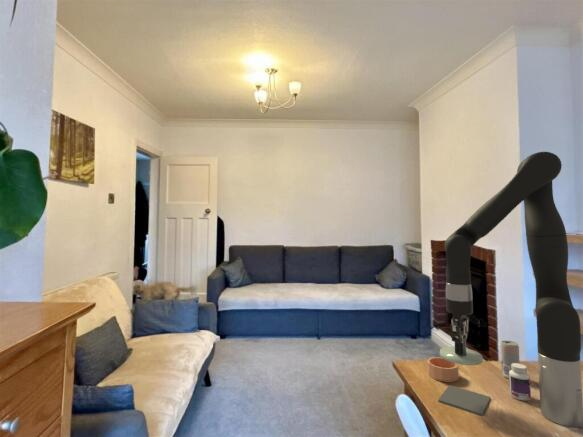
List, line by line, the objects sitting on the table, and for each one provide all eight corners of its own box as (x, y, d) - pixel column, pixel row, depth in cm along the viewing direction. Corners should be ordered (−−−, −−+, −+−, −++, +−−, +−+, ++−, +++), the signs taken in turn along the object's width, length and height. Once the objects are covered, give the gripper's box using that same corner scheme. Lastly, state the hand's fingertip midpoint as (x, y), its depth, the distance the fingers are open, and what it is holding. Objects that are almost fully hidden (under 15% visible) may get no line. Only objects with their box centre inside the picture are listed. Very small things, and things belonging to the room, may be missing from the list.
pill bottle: (534, 402, 96) (533, 369, 97) (515, 400, 98) (513, 368, 98) (525, 393, 102) (523, 362, 102) (506, 391, 103) (505, 361, 103)
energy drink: (514, 373, 115) (513, 340, 116) (523, 380, 110) (522, 345, 110) (499, 373, 116) (497, 340, 116) (507, 380, 110) (506, 345, 111)
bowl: (461, 374, 115) (461, 361, 115) (454, 385, 108) (453, 371, 108) (433, 367, 122) (432, 355, 122) (424, 376, 114) (423, 363, 115)
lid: (486, 355, 100) (485, 336, 100) (478, 369, 91) (477, 348, 91) (445, 347, 108) (445, 329, 108) (434, 358, 99) (434, 338, 99)
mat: (490, 398, 99) (490, 396, 99) (482, 415, 90) (482, 414, 90) (449, 386, 107) (449, 384, 107) (438, 401, 98) (438, 399, 98)
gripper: (466, 303, 92) (468, 363, 92) (477, 295, 103) (479, 348, 102) (439, 299, 97) (441, 356, 97) (452, 292, 108) (453, 343, 107)
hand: (460, 352), depth 99 cm, fingers closed on lid, 3 cm apart
